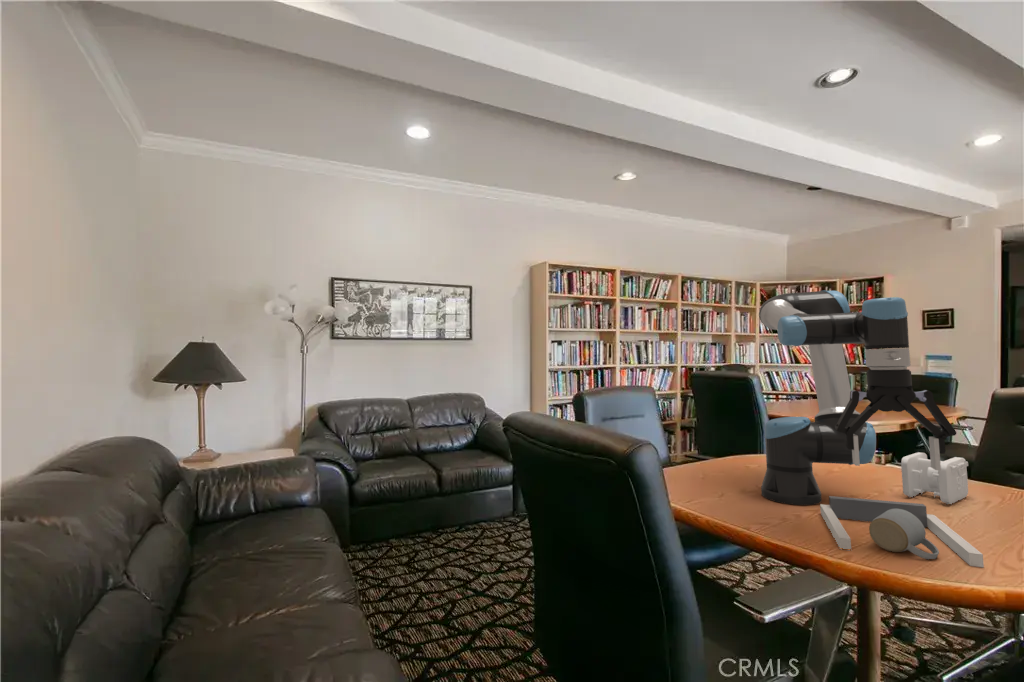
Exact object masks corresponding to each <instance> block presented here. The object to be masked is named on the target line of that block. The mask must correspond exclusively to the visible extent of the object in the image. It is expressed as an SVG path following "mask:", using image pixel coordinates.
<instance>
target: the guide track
mask: <svg viewBox="0 0 1024 682" xmlns="http://www.w3.org/2000/svg"><path fill="white" fill-rule="evenodd" d="M828 502H829V504H822V503H819V504H820V505H819V507H820V515H821V517H822V519H823V521H824V520H825V521H824V522H826V523H825V524H826V526H827V528H828V530H829V529H830V530H829V531H831V532H830V534H831V533H832V534H831V535H832V537H833V539H834V538H835V539H834V540H836V541H835V543H836V542H837V543H836V544H838V545H837V547H838V548H839V547H840V548H843V549H851V550H852V543H851V542H852V540H851V537H850V536H849V534H848V532H847V531H846V529H845V528H844V526H843V524H842V523H841V521H840V520H848V519H852V520H851V521H858V520H860V521H859V522H867V521H868V522H867V523H869V521H870V523H871V522H872V521H873V520H874V519H875V518H876V517H878V516H880V515H881V514H883V513H885V512H886V511H888V510H890V509H903V510H906V511H908V512H910V513H912V514H913V515H915V516H916V517H917V518H918V519H919V520H920V521H921V523H922V524H923V526H924V528H926V527H928V528H927V529H929V530H930V531H931V532H932V533H933V534H934V535H935V536H936V535H937V536H936V537H938V538H939V539H940V540H941V541H942V542H943V543H944V544H945V545H948V546H947V547H949V548H950V550H952V551H953V552H954V553H955V554H956V553H957V554H956V555H957V556H959V558H960V559H962V560H963V561H964V562H965V563H967V565H969V566H970V567H975V568H976V567H977V568H984V566H985V565H984V553H982V552H981V551H979V550H978V549H977V548H976V547H975V546H973V545H972V544H971V543H970V542H968V541H967V540H966V539H965V538H963V537H962V536H961V535H960V534H958V533H957V532H956V531H954V530H953V529H952V528H951V527H949V525H947V523H945V522H943V521H942V520H941V519H940V518H939V517H938V516H936V515H935V514H928V512H927V505H925V504H924V503H918V502H917V503H916V502H905V501H904V502H903V501H894V500H893V501H892V500H883V499H881V500H879V499H871V498H870V499H867V498H855V497H845V496H834V495H829V496H828ZM838 518H841V519H838ZM840 548H839V549H840Z"/></svg>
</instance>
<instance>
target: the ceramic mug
mask: <svg viewBox="0 0 1024 682" xmlns="http://www.w3.org/2000/svg"><path fill="white" fill-rule="evenodd" d="M868 527H869V528H868V531H869V535H870V538H871V539H872V540H873V542H874V543H875V544H876V545H878V546H879V547H880V548H882V549H884V550H885V551H887V552H891V551H892V553H900V552H901V553H902V552H905V551H909V552H910V553H912V554H914V555H915V556H917V557H918V558H922V559H925V560H929V559H934V560H936V559H937V557H938V555H940V550H939V548H938V547H937V545H935V544H934V543H933V542H932V541H930V540H929V539H927V538H926V527H924V526H923V524H922V523H921V521H920V520H919V519H918V518H917V517H916V516H915V515H913V514H912V513H910V512H908V511H906V510H903V509H890V510H888V511H886V512H885V513H883V514H881V515H880V516H878V517H876V518H875V519H874V520H873V521H872V522H870V524H869V526H868ZM919 545H923V546H924V547H925V548H927V549H928V550H929V551H931V552H926V551H923V550H922V549H920V548H918V547H917V546H919Z"/></svg>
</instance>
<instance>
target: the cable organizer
mask: <svg viewBox="0 0 1024 682" xmlns="http://www.w3.org/2000/svg"><path fill="white" fill-rule="evenodd" d="M900 461H901V462H900V463H901V464H900V466H901V467H900V468H901V479H902V481H901V483H902V492H903V493H902V494H903V495H904V496H908V498H910V497H912V498H914V497H916V496H917V495H919V493H921V494H920V495H921V496H922V494H924V493H925V492H929V493H933V496H934V498H933V499H935V498H936V497H937V496H938V497H939V499H940V501H941V503H945V504H946V505H948V504H951V505H953V504H954V503H956V502H959V501H961V500H963V499H964V498H966V497H967V496H968V495H969V494H968V493H969V481H968V471H967V467H969V462H968V461H966V459H965V458H964V457H957V456H954V457H951V458H949V459H946V460H940V465H941V471H940V470H935V469H933V468H931V459H928V455H927V454H926V453H925V452H919V451H917V452H915V453H912V454H908V455H906V456H903V457H902V458H901V460H900ZM923 492H924V493H923ZM913 496H914V497H913ZM958 500H959V501H958ZM952 503H953V504H952Z"/></svg>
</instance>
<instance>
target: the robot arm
mask: <svg viewBox="0 0 1024 682" xmlns="http://www.w3.org/2000/svg"><path fill="white" fill-rule="evenodd" d="M861 307H862V308H861V311H857V312H851V308H850V304H849V302H848V299H847V297H846V296H845V295H844V293H842V292H841V291H838V290H826V289H824V290H820V291H819V290H818V291H803V292H787V293H782V294H781V293H780V294H778V295H775V296H773V297H771V298H769V299H767V300H766V301H764V302H763V303H762V305H761V306H760V308H759V312H758V317H759V320H760V322H761V323H762V324H763V325H764V326H765V327H766V328H768V329H770V330H775V331H777V338H778V341H779V343H780V344H781V346H782V345H783V346H793V347H799V346H808V350H809V357H810V362H811V369H812V375H813V380H814V387H815V393H816V397H817V398H816V399H817V400H816V401H817V403H818V404H817V405H818V410H819V411H818V412H817V413H816V414H815V415H814V421H811V420H810V418H809V417H807V416H784V417H777V418H772V419H770V420H768V421H766V422H765V424H764V441H765V442H764V443H765V458H766V459H765V460H766V471H765V474H764V477H763V479H762V483H761V487H760V488H761V491H760V492H761V496H762V497H763V498H766V499H767V500H769V501H773V502H776V503H781V504H787V505H795V506H796V505H797V506H812V505H818V504H821V502H822V501H823V500H822V491H821V489H820V487H819V485H818V482H817V480H816V477H815V476H814V471H813V463H814V464H816V463H817V464H840V465H841V464H842V465H849V466H851V465H854V466H855V467H856V466H857V467H860V466H861V465H866V464H869V463H870V462H871V461H872V460H873V458H874V456H875V453H876V449H877V435H876V434H877V433H876V430H875V428H874V425H873V424H872V423H870V422H868V420H869V419H870V418H871V417H872V416H873V415H874V414H876V413H877V412H878V411H880V412H896V413H899V412H901V413H902V412H904V411H905V413H908V414H909V415H910V416H911V417H913V418H914V419H915V420H916V421H917V422H918V423H919V424H920V425H922V426H923V427H924V428H925V429H926V430H927V431H929V432H930V433H931V435H933V436H928V442H929V444H928V445H929V457H930V460H931V468H933V469H935V470H940V471H941V465H940V461H941V454H943V455H944V454H945V453H946V439H947V438H948V437H951V436H957V430H955V427H953V426H952V424H951V422H950V421H949V420H948V418H947V417H946V415H944V413H943V412H942V410H941V409H940V407H939V406H938V405H937V403H936V402H935V398H934V394H933V392H932V391H930V390H927V389H923V390H921V391H914V389H913V380H912V371H911V370H910V369H908V367H911V357H910V356H911V355H910V341H909V325H908V324H909V323H908V316H909V315H908V314H909V313H908V311H907V304H906V301H905V299H904V298H902V297H898V296H894V297H892V296H890V297H880V298H879V297H878V298H871V299H866V300H864V301H863V302H862V305H861ZM847 344H851V345H852V344H859V345H862V344H864V353H865V354H864V355H865V356H864V357H865V367H867V368H869V369H868V370H866V383H867V387H866V388H867V389H866V392H865V391H858V390H853V389H851V382H850V379H849V373H848V368H847V363H846V359H845V352H844V347H843V345H847ZM864 398H866V399H867V400H868V402H870V403H868V405H867V406H865V408H864V409H863V411H861V412H859V411H857V410H856V408H857V406H859V402H861V401H863V399H864ZM916 398H917V399H918V400H919V401H920V402H922V403H923V404H924V406H925V407H926V408H927V410H928V411H929V413H930V414H931V416H932V418H934V420H935V421H936V422H937V424H938V426H939V427H940V428H941V429H939V428H938V427H937V426H936V425H935V424H933V422H931V421H930V420H929V419H928V418H927V417H926V416H924V414H922V413H921V412H920V411H919V410H918V409H917V408H916V407H915V406H914V405H912V404H911V403H912V402H913V401H914V400H916Z"/></svg>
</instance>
